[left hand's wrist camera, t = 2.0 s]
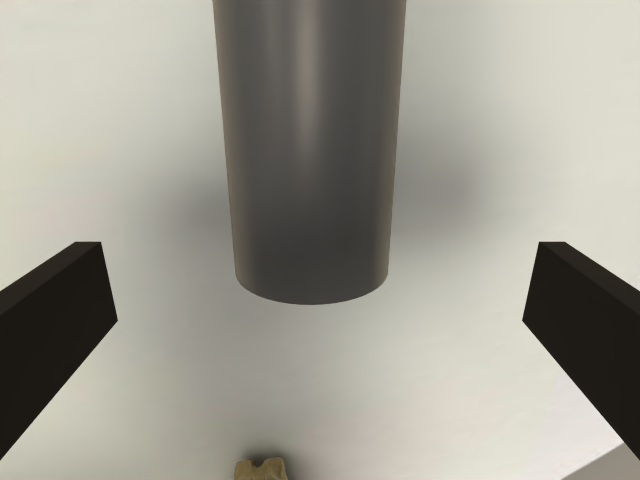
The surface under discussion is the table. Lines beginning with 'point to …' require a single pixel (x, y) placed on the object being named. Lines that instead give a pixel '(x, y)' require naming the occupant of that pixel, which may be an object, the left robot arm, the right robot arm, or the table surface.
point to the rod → (310, 142)
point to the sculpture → (261, 470)
